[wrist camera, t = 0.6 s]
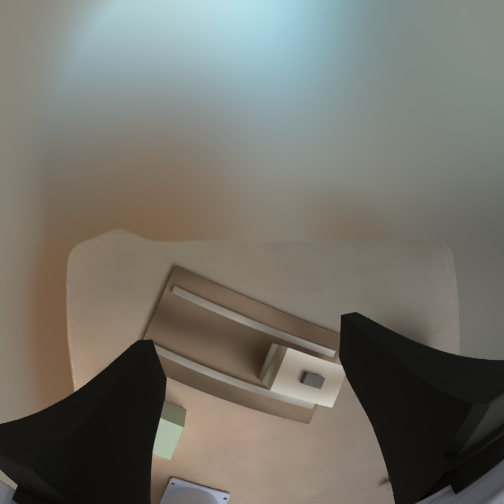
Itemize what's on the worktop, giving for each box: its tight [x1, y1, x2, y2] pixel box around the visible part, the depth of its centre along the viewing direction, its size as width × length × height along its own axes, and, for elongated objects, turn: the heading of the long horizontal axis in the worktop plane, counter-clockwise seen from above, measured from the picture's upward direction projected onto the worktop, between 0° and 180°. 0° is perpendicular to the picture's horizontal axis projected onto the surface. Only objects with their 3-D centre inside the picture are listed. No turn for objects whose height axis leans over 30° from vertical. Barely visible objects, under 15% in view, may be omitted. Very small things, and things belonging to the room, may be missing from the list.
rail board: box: [143, 266, 345, 424], centre depth 27 cm, size 12×22×8 cm, turn 68°
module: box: [153, 401, 186, 460], centre depth 24 cm, size 4×7×7 cm, turn 68°
